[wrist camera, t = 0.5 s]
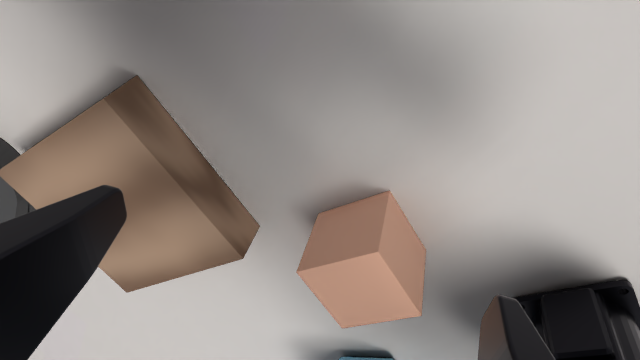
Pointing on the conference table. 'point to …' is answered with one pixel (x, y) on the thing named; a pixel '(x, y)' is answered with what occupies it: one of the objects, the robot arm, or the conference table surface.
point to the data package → (363, 358)
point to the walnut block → (140, 188)
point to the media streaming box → (10, 189)
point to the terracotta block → (365, 262)
